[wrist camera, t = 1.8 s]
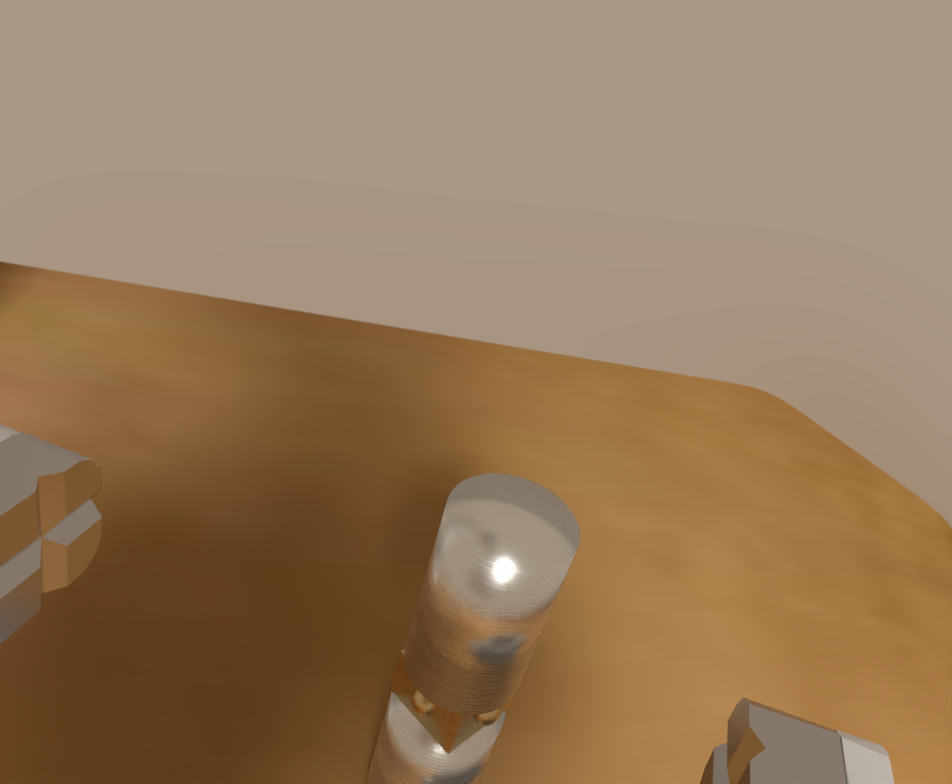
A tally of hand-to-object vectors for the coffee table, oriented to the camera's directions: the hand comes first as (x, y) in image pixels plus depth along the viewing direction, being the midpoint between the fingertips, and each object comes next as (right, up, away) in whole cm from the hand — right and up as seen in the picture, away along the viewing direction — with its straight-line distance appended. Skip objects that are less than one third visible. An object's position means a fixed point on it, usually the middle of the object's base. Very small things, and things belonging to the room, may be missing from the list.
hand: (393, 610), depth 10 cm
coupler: (-1, -12, +22) cm, 25 cm away
